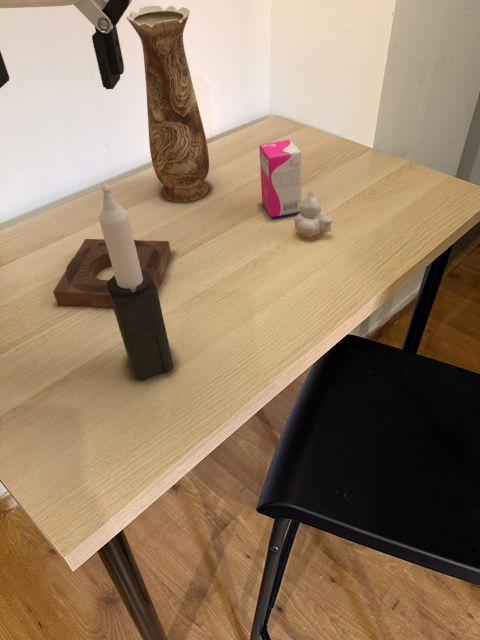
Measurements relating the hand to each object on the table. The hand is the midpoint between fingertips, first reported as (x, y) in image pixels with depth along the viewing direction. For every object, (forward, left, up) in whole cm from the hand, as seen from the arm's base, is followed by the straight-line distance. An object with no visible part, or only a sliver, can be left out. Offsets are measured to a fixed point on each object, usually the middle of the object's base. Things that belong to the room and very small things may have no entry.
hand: (55, 85), depth 44 cm
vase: (-4, +47, -35) cm, 59 cm away
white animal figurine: (+21, +33, -35) cm, 53 cm away
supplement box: (+15, +41, -35) cm, 56 cm away
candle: (+1, +1, -35) cm, 35 cm away
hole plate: (-9, +19, -34) cm, 40 cm away
